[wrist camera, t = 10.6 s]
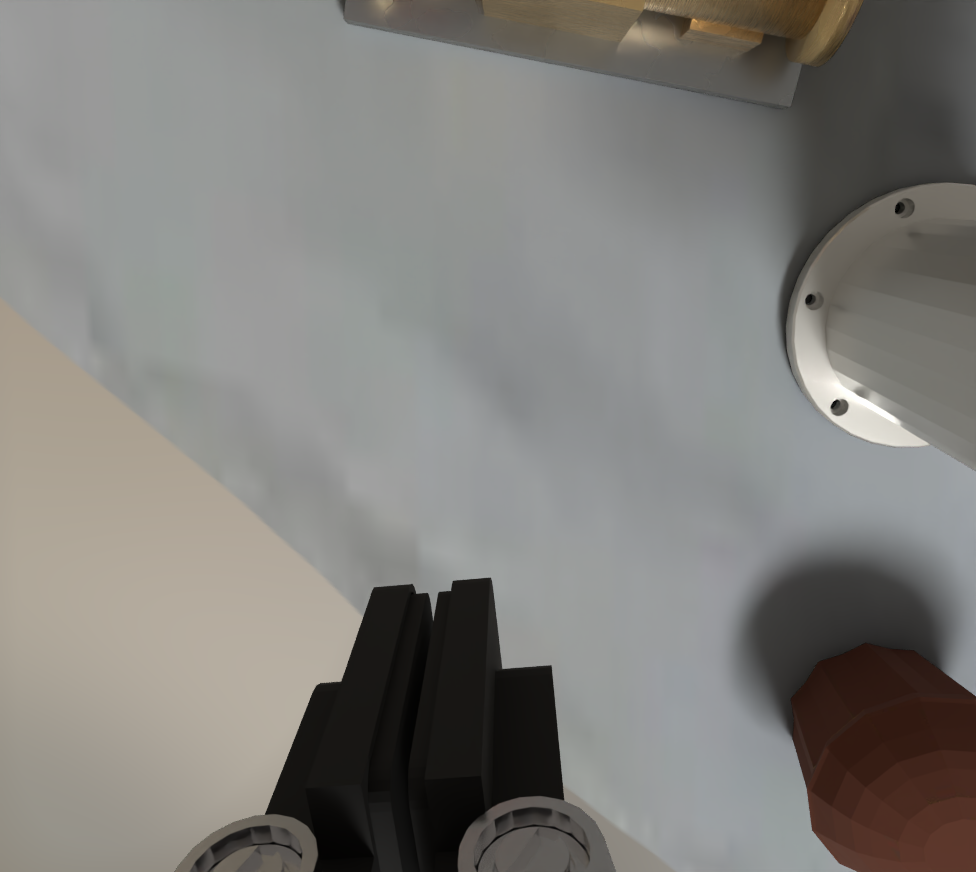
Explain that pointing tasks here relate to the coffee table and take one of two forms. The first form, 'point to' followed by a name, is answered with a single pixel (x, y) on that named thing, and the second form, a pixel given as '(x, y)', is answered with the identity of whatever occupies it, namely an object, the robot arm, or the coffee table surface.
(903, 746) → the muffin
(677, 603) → the coffee table surface
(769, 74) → the valve
